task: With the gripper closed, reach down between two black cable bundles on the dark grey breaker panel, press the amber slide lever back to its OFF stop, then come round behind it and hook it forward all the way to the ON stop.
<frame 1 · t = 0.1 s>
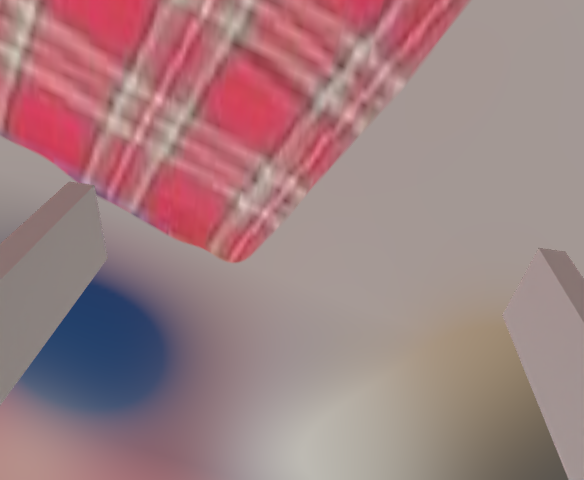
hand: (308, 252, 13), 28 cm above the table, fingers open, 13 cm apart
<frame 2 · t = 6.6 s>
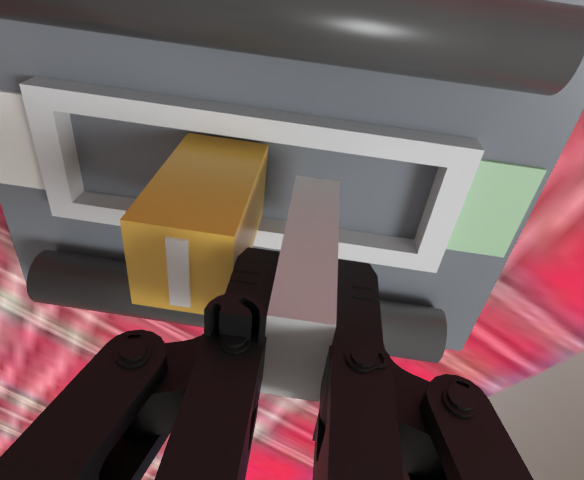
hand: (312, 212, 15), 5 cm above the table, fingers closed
panel: (260, 148, 19), on the table
lever: (206, 216, 15), point 6 cm above the table, slide at -0.9 cm, touching gripper
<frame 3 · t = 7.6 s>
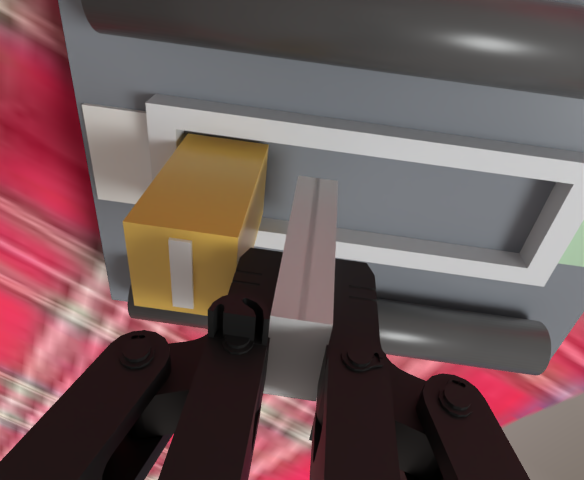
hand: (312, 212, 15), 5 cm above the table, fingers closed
panel: (359, 162, 19), on the table
lever: (208, 217, 15), point 6 cm above the table, slide at -5.3 cm, touching gripper
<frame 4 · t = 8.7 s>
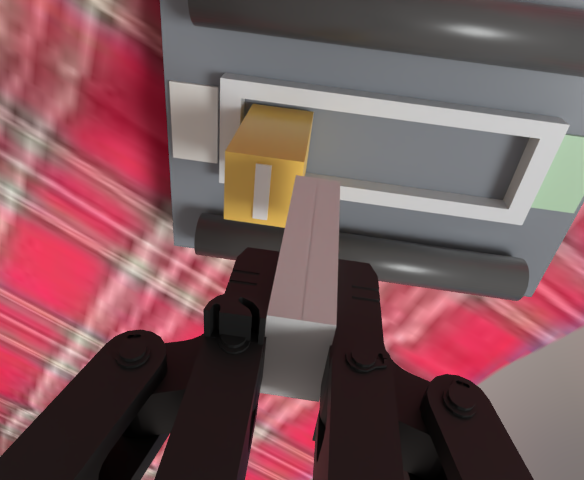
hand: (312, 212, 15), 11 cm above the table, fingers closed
panel: (376, 131, 24), on the table
lever: (272, 161, 20), point 6 cm above the table, slide at -5.0 cm
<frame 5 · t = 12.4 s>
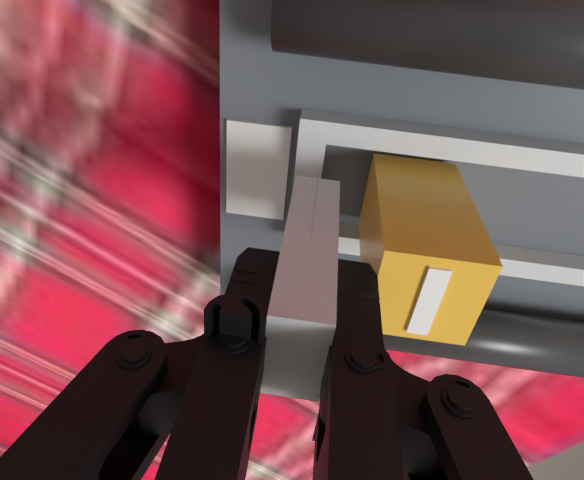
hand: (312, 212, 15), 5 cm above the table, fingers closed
panel: (483, 173, 19), on the table
lever: (414, 239, 14), point 6 cm above the table, slide at -3.7 cm, touching gripper
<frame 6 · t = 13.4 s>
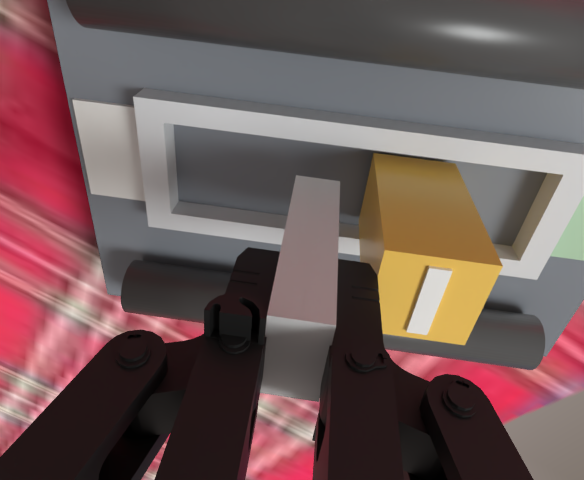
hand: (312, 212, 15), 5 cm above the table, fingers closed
panel: (350, 156, 19), on the table
lever: (414, 239, 14), point 6 cm above the table, slide at 2.1 cm, touching gripper
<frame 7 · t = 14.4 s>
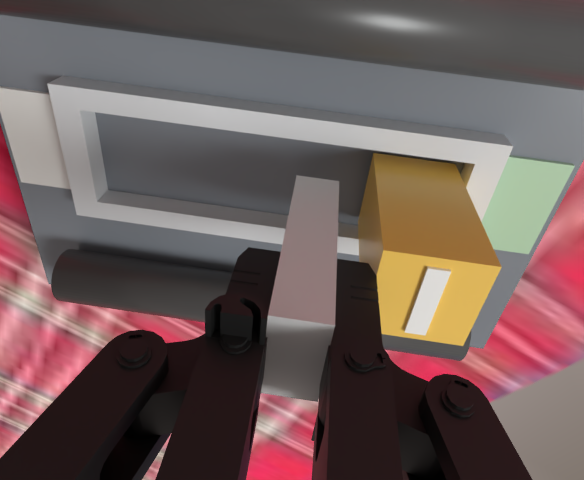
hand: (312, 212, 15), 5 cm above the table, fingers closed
panel: (282, 146, 19), on the table
lever: (413, 239, 14), point 6 cm above the table, slide at 5.1 cm, touching gripper
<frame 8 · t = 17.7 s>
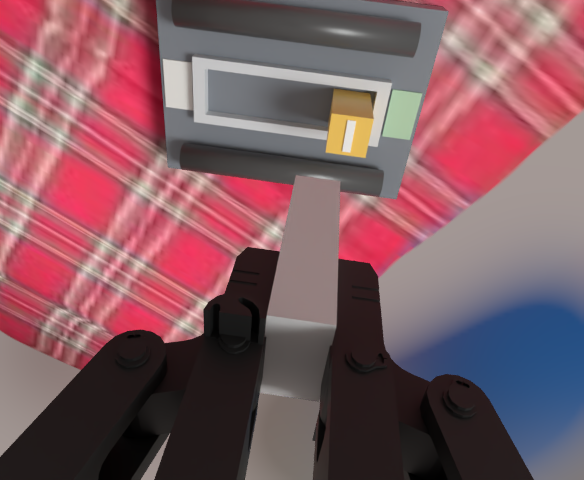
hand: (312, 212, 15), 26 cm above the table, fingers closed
panel: (292, 90, 39), on the table
lever: (348, 121, 34), point 6 cm above the table, slide at 5.0 cm
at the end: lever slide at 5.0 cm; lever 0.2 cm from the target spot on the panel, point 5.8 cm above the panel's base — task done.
